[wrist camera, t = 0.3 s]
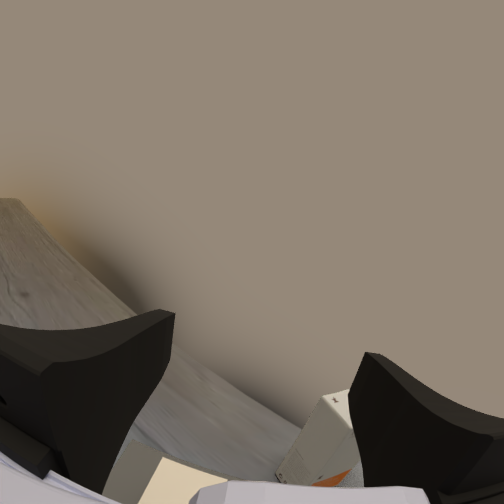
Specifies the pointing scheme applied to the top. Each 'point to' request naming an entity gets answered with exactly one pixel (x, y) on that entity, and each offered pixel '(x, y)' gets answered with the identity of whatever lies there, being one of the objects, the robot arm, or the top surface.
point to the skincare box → (323, 446)
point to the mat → (141, 472)
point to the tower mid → (176, 483)
